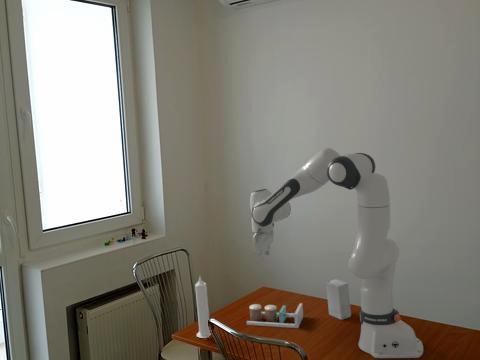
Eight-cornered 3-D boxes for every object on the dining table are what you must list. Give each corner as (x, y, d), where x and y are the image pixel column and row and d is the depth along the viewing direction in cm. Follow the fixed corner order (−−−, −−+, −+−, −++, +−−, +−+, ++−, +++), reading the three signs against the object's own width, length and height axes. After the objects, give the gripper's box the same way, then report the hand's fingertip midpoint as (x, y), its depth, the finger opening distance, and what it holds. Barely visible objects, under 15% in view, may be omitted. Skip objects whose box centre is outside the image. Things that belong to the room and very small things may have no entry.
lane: (303, 316, 206) (302, 303, 205) (298, 328, 195) (297, 314, 194) (254, 313, 213) (253, 301, 212) (246, 324, 202) (245, 311, 201)
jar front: (278, 318, 206) (277, 305, 205) (275, 323, 201) (274, 309, 200) (267, 317, 208) (266, 304, 207) (264, 322, 203) (263, 309, 202)
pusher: (291, 317, 205) (290, 305, 205) (287, 324, 198) (286, 312, 198) (283, 316, 207) (283, 305, 206) (279, 324, 199) (278, 312, 199)
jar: (261, 316, 209) (260, 303, 209) (262, 321, 204) (261, 308, 203) (249, 317, 209) (248, 304, 208) (250, 322, 204) (249, 309, 203)
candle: (203, 330, 200) (197, 272, 197) (217, 333, 196) (212, 274, 193) (193, 337, 194) (187, 278, 191) (207, 340, 190) (202, 280, 187)
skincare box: (351, 316, 202) (349, 283, 200) (340, 320, 199) (338, 286, 197) (338, 310, 209) (336, 278, 207) (327, 314, 206) (325, 281, 204)
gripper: (262, 232, 194) (265, 265, 196) (275, 221, 213) (277, 251, 215) (248, 232, 196) (250, 265, 198) (261, 221, 215) (263, 251, 217)
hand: (264, 257), depth 206 cm, fingers open, 8 cm apart
